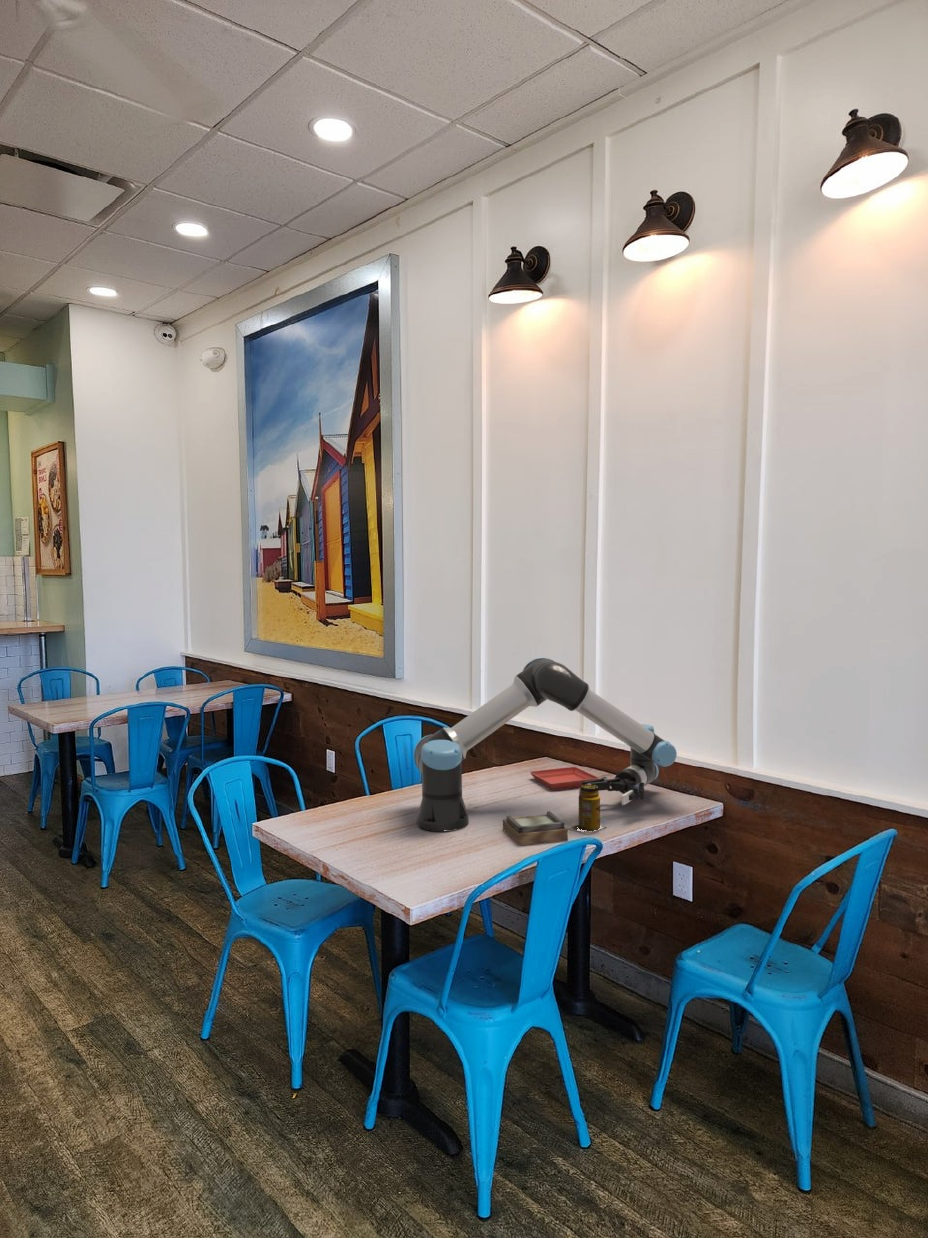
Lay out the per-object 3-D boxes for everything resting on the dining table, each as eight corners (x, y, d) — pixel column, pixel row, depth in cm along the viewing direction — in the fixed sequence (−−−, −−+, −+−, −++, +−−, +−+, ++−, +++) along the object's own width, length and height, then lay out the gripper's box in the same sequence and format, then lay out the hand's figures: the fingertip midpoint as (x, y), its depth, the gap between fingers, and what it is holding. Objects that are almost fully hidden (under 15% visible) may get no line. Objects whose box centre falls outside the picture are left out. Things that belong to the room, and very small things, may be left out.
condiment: (606, 827, 228) (606, 786, 227) (588, 835, 222) (588, 792, 221) (586, 822, 233) (585, 781, 232) (567, 829, 227) (567, 787, 226)
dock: (518, 845, 214) (518, 829, 214) (502, 829, 228) (502, 813, 227) (567, 840, 218) (567, 823, 218) (549, 824, 231) (548, 809, 231)
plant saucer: (529, 780, 281) (528, 770, 281) (575, 775, 287) (575, 765, 287) (551, 793, 264) (551, 783, 264) (599, 787, 270) (599, 778, 270)
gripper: (668, 797, 245) (641, 816, 227) (594, 786, 259) (563, 803, 241) (668, 773, 244) (641, 790, 227) (593, 763, 258) (562, 778, 241)
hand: (601, 796), depth 234 cm, fingers open, 13 cm apart
